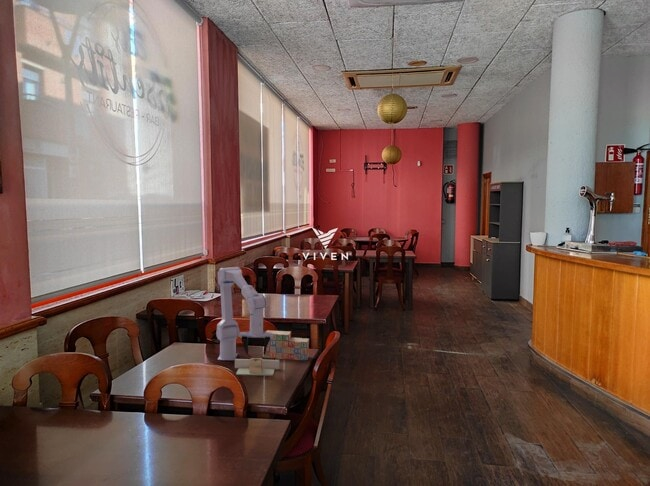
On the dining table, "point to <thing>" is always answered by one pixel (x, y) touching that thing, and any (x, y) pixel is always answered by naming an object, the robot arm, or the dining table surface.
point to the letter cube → (255, 365)
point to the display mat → (246, 372)
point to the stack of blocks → (287, 346)
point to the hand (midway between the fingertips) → (255, 353)
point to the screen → (265, 364)
